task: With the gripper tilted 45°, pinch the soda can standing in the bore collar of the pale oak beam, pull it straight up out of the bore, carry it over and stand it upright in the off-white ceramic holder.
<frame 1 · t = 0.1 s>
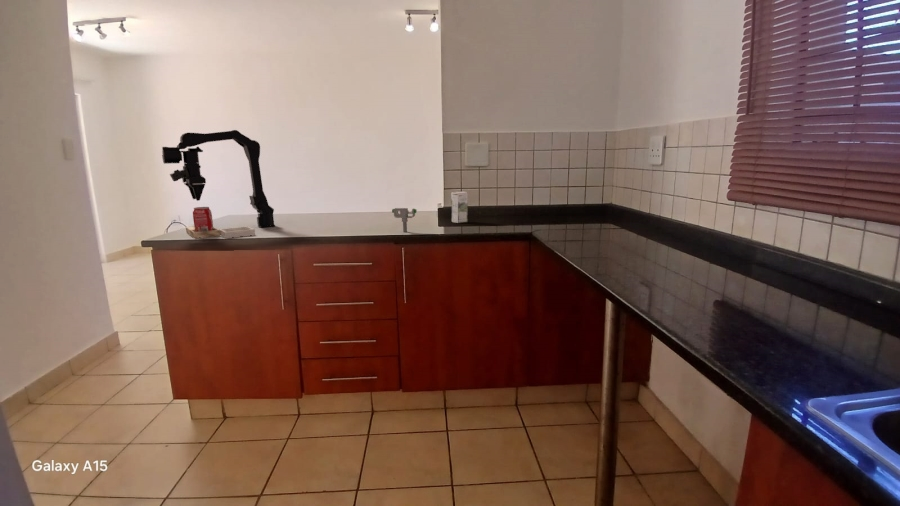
hand: (196, 199, 202), 15 cm above the worktop, tool pointing down, fingers open, 9 cm apart
syrup box: (459, 222, 224), on the worktop
mechanical component: (405, 232, 198), on the worktop
ceramic holder: (237, 235, 198), on the worktop
oak bore beam: (205, 235, 198), on the worktop
soda can: (205, 236, 198), resting in oak bore beam
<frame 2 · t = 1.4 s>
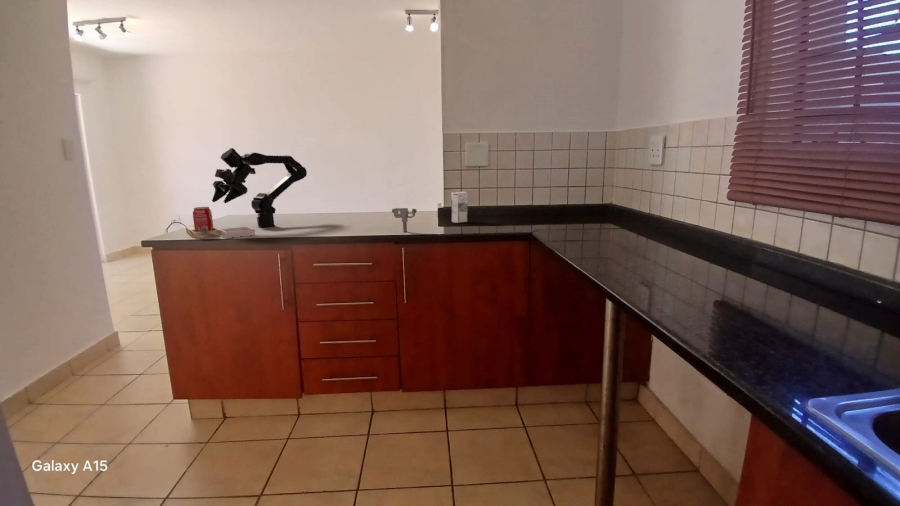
hand: (218, 202, 201), 14 cm above the worktop, tool tilted 45°, fingers open, 9 cm apart
nothing on the worktop moved.
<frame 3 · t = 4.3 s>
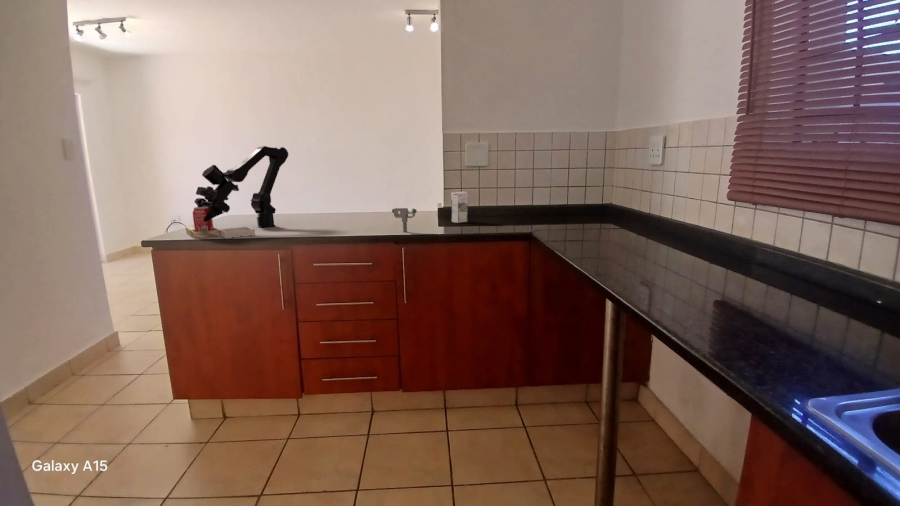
hand: (199, 220, 195), 7 cm above the worktop, tool tilted 45°, fingers open, 7 cm apart
soda can: (205, 236, 198), resting in oak bore beam, touching gripper
everything else where it was.
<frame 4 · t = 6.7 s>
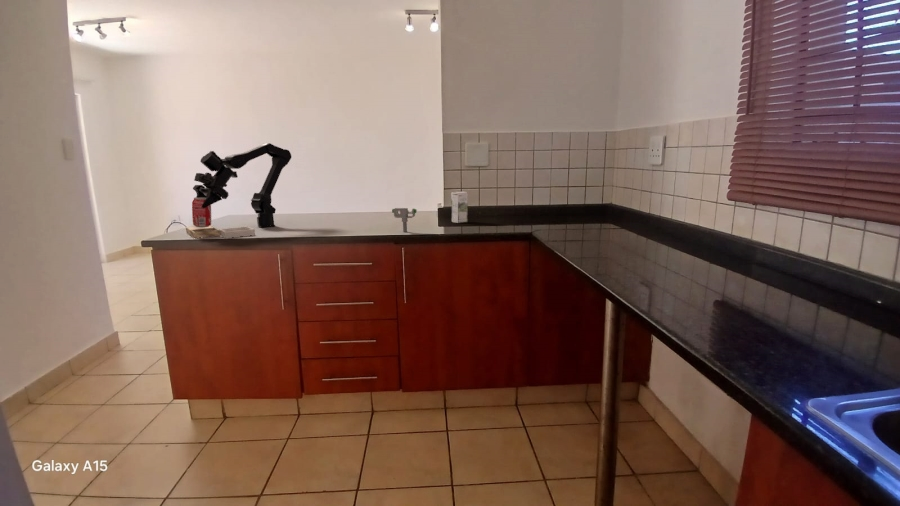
hand: (198, 207, 194), 12 cm above the worktop, tool tilted 45°, fingers closed on soda can, 6 cm apart
soda can: (202, 226, 197), point 4 cm above the worktop, touching gripper
everything else where it was.
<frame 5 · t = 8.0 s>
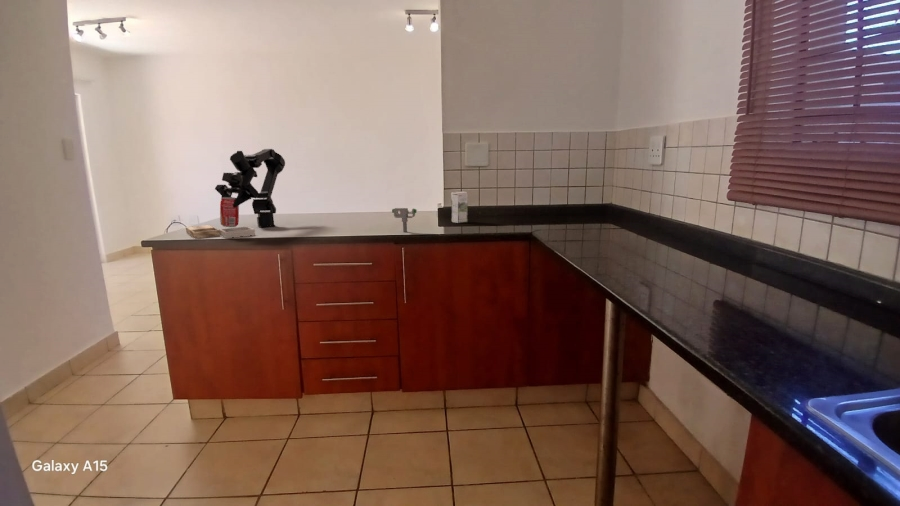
hand: (227, 206, 194), 12 cm above the worktop, tool tilted 45°, fingers closed on soda can, 6 cm apart
soda can: (229, 226, 197), point 4 cm above the worktop, touching gripper
everything else where it was.
when the fingers open (8 cm above the worktop, at t = 10.3 s): soda can stays where it is, resting in ceramic holder.
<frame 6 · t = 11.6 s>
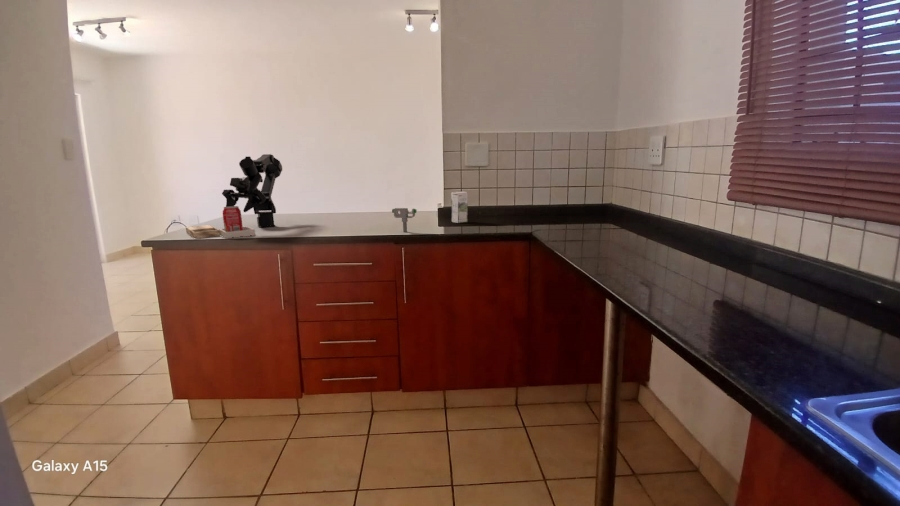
hand: (235, 211, 197), 10 cm above the worktop, tool tilted 45°, fingers open, 9 cm apart
soda can: (234, 235, 198), resting in ceramic holder
everything else where it was.
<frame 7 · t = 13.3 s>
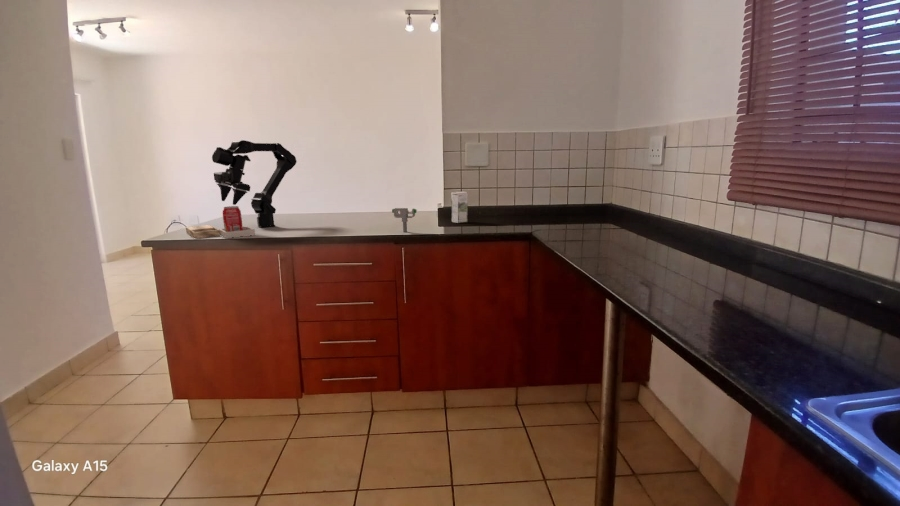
hand: (228, 202, 207), 13 cm above the worktop, tool tilted 20°, fingers open, 9 cm apart
nothing on the worktop moved.
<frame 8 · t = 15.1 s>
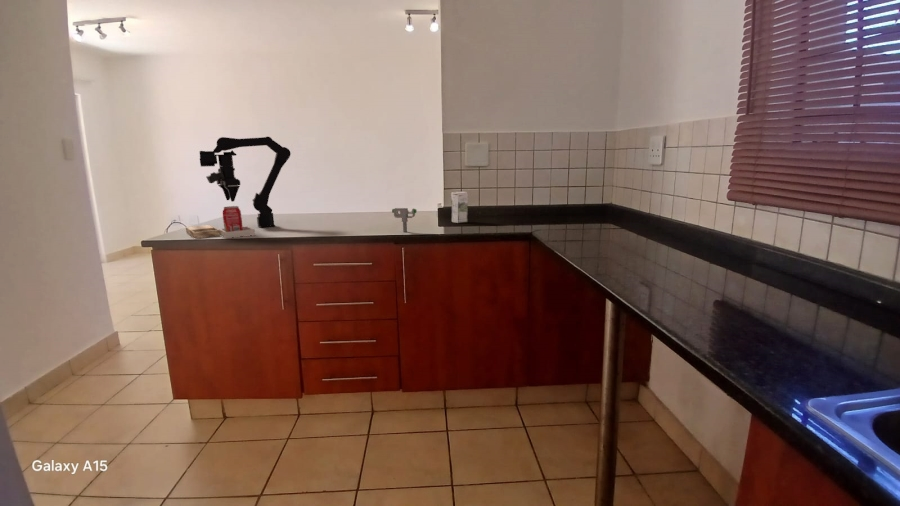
hand: (230, 200, 213), 13 cm above the worktop, tool pointing down, fingers open, 9 cm apart
nothing on the worktop moved.
at the end: soda can 1.3 cm off-centre on the ceramic holder, point 0.0 cm above the ceramic holder's base; soda can tilted 0°; the gripper is holding nothing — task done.
